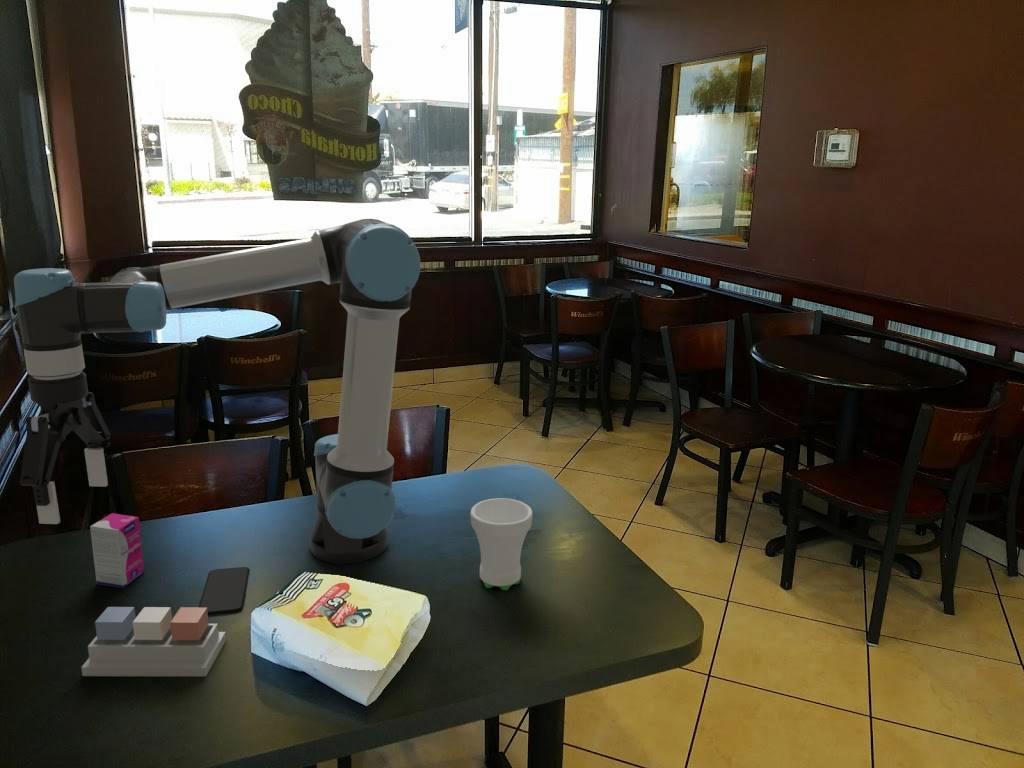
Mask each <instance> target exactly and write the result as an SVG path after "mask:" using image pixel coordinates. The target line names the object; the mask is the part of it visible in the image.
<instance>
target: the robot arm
mask: <svg viewBox="0 0 1024 768" xmlns="http://www.w3.org/2000/svg"><path fill="white" fill-rule="evenodd" d="M420 272H421V257H420V253H419V250H418V247H417V246H416V244H415V243H414V241H413V240H412V237H410V236H409V234H408V233H406V232H405V231H404V230H403V229H402V228H401V227H398V226H396V225H395V224H391V223H388V222H385V221H383V220H380V219H375V218H362V219H358V220H354V221H352V222H350V221H349V222H348V223H345V224H341V225H337V226H333V227H330V228H329V227H328V228H325V229H319V230H318V229H317V230H315V231H314V232H313V234H312V235H311V236H310V237H307V238H303V239H297V240H291V241H286V242H281V243H279V242H278V243H275V244H270V245H269V244H268V245H263V246H258V247H252V248H246V249H241V250H240V249H239V250H236V251H235V250H234V251H230V252H225V253H219V254H214V255H209V256H208V255H207V256H202V257H196V258H191V259H185V260H179V261H175V262H169V263H163V264H160V265H159V264H158V265H151V266H147V267H136V266H134V267H133V266H132V267H127V268H124V269H121V270H120V271H118V272H116V273H115V274H114V275H113V276H112V277H111V278H110V280H109V281H106V282H105V281H104V282H102V281H101V282H80V281H79V282H78V281H76V280H75V278H74V277H73V273H72V272H71V271H70V270H69V269H66V268H55V267H50V268H49V267H47V268H46V267H45V268H44V267H43V268H41V267H40V268H32V269H25V270H21V271H20V272H18V273H16V274H15V276H14V278H13V285H14V295H15V303H14V306H15V307H16V313H17V317H18V324H19V329H20V330H19V331H20V335H21V340H22V347H23V352H24V353H23V355H24V360H25V367H26V373H27V374H28V375H29V378H27V382H28V389H29V395H30V396H29V397H30V399H31V401H32V402H33V403H36V404H37V405H38V406H39V407H40V411H39V415H37V416H27V417H26V418H25V425H26V427H25V428H26V436H25V443H24V449H23V456H22V461H21V471H20V476H19V477H20V478H19V485H21V486H30V487H32V490H33V491H32V492H33V499H34V504H35V505H36V511H37V517H38V523H39V524H43V525H44V524H45V525H58V524H60V523H61V517H60V511H59V504H58V497H57V492H56V491H57V490H56V484H55V481H51V479H52V475H53V471H54V468H55V464H56V460H57V457H58V454H59V451H60V447H61V444H62V443H63V442H65V440H66V438H67V435H69V434H70V433H71V432H72V431H73V432H74V433H75V434H76V435H77V437H79V438H80V440H81V441H83V443H84V444H85V445H86V446H87V447H86V448H84V450H83V451H84V458H85V465H86V473H87V479H88V485H89V486H88V487H96V488H97V487H103V488H104V487H105V488H106V487H108V485H109V484H108V483H109V482H108V475H107V467H106V466H107V465H106V461H105V460H106V458H105V453H104V448H109V447H110V445H111V441H110V439H111V433H110V430H109V429H108V426H107V424H106V422H105V420H104V418H103V416H102V414H101V412H100V409H99V407H98V406H97V403H96V399H95V394H94V392H93V391H92V392H91V391H89V388H88V382H87V374H86V373H85V372H84V371H83V370H84V369H85V368H86V363H85V357H84V351H83V344H82V338H81V337H82V336H81V335H82V334H98V333H99V334H100V333H102V334H103V333H105V334H107V333H108V334H109V333H132V332H133V333H136V332H137V333H144V332H150V331H151V332H152V331H159V330H162V329H164V328H165V327H166V325H167V311H170V310H172V309H178V308H182V307H183V308H184V307H187V306H193V305H199V304H204V303H210V302H213V301H219V300H224V299H230V298H235V297H240V296H246V295H250V294H257V293H261V292H267V291H272V290H278V289H281V288H282V289H283V288H287V287H293V286H298V285H303V284H309V283H314V282H319V281H320V282H321V281H322V282H323V283H325V284H327V285H334V284H339V283H340V288H339V289H340V291H339V303H340V304H341V306H342V307H343V308H344V309H345V311H346V312H347V317H346V318H347V320H346V330H345V331H346V332H345V343H344V355H343V357H344V359H343V365H342V366H343V367H342V368H343V370H342V382H341V393H340V405H339V418H338V429H337V433H335V434H330V435H326V436H324V437H321V438H319V439H318V440H317V441H316V442H315V444H314V453H313V457H314V459H315V460H314V461H315V464H314V465H315V477H316V478H315V480H316V483H315V485H316V498H317V499H316V503H317V514H316V518H315V520H314V524H313V527H312V530H311V533H310V537H309V538H310V539H309V544H310V545H309V546H310V552H311V554H312V555H313V556H314V557H316V558H317V560H318V559H319V560H321V561H324V562H327V563H331V564H341V565H342V564H343V565H344V564H355V563H361V562H365V561H368V560H371V559H373V558H375V557H377V556H379V555H381V554H382V553H383V552H384V551H385V550H386V549H387V547H388V542H389V539H388V537H389V536H388V535H389V534H388V529H387V527H388V526H389V525H390V524H391V522H392V520H393V518H394V516H395V513H396V496H395V494H394V492H393V491H392V489H393V488H392V487H393V476H394V467H395V466H394V464H395V458H394V457H393V455H392V454H391V453H390V452H389V451H388V449H387V448H388V439H389V431H390V430H389V428H390V420H391V419H390V417H391V411H392V410H391V408H392V397H393V388H394V387H393V386H394V380H395V369H396V367H395V366H396V357H397V346H398V337H399V330H400V329H399V328H400V318H401V317H402V316H403V315H405V314H406V313H407V312H408V311H409V310H410V308H411V299H412V290H413V288H414V287H415V286H416V284H417V282H418V280H419V277H420Z"/></svg>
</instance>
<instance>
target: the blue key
mask: <svg viewBox="0 0 1024 768" xmlns="http://www.w3.org/2000/svg"><path fill="white" fill-rule="evenodd" d="M136 617H137V616H136V609H135V606H107V607H106V609H105V610H104V611H103V612H102V613H101V614H100V615H99V617H98V618H97V619H96V620H95V621H94V624H95V631H96V632H95V633H96V636H97V640H125V639H126V637H127V636H128V635H129V633H130V632H131V631H132V630H133V621H134V620H135V618H136Z"/></svg>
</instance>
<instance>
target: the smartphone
mask: <svg viewBox="0 0 1024 768" xmlns="http://www.w3.org/2000/svg"><path fill="white" fill-rule="evenodd" d="M249 577H250V568H249V567H245V566H242V567H231V568H229V567H227V568H219V569H212V570H210V571H209V572H208V574H207V578H206V581H205V585H204V588H203V591H202V595H201V598H200V600H199V605H198V607H207V612H208V616H214V615H215V616H216V615H225V614H235V613H239V612H241V611H242V610H243V609H244V606H245V602H246V601H245V600H246V595H247V589H248V583H249Z"/></svg>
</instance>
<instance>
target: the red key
mask: <svg viewBox="0 0 1024 768" xmlns="http://www.w3.org/2000/svg"><path fill="white" fill-rule="evenodd" d="M209 624H210V623H209V615H208V612H207V607H199V606H198V607H196V606H195V607H193V606H191V607H189V606H187V607H185V606H180V607H179V608H178V610H177V612H176V613H175V615H174V616H173V617H172V621H171V622H170V625H171V634H172V640H200V638H201V636H202V635H203V633H204V631H205V630H206V628H207V627H208V625H209Z"/></svg>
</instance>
